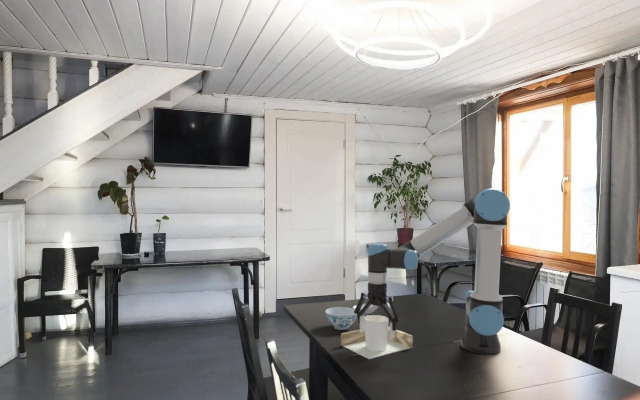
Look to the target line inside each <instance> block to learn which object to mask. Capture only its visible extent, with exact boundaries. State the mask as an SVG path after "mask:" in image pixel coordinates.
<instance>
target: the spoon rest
mask: <svg viewBox="0 0 640 400" xmlns="http://www.w3.org/2000/svg"><path fill="white" fill-rule="evenodd" d="M387 304H388V306H389V308H390V309H391V307H390V305H389V302H387ZM365 305H366V303H363V305H362V307H361V309H362V308H363V307H364V306H365ZM356 306H357V304H356V305H353V306H352V309H355V308H356ZM379 308H381V306H376V305H375V306H374V305H371V306H370V307H369V308H368V309H367V310H366V311H365V313H364V314H363V315H365V316H369V314H370V315H372V313H374V312H375V311H376V310H377V309H379ZM361 309H360V311H361ZM391 311H392V310H391Z"/></svg>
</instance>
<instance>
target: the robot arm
mask: <svg viewBox="0 0 640 400" xmlns="http://www.w3.org/2000/svg"><path fill="white" fill-rule="evenodd" d="M510 207H511V202H510V199H509V197H508V195H507V194H506V193H505V192H504V191H503V190H500V189H498V188H493V187H492V188H491V187H490V188H485V189H481V190H479V191H478V192H477V193H475V195H473V196H472V197H471V198H470V199H469V200H467V201H466V202H464V203H463V204H462V205H461V208H460V209H458V210H457V211H455V212H453V213H452V214H451V215H449V216H447V217H446V218H444V219H442V220H441V221H439V222H438V223H436V224H434V225H433V226H431V227H430V228H428V229H426V230H425V231H424V232H422V233H421V234H419V235H417V236H416V237H414V238H413V239H411V240H410V241H408V242H406V243H404V244H403V245H400V246H399V247H398V248H397V249H392V248H388V245H387V244H386V243H376V242H375V243H371V244H369V245H368V252H367V282H368V283H367V292H366V291H363V292H361V293H360V298H359V301H358V303H357V304H356V305H357V306H356V308H355V311H354V313H355V314H357V317H358V318H357V319H358V320H357V324H359V329H360V333H362V332H364V331H365V324H364V317H366V315H363V314H364V313H365V311H366V310H367V309H368V308H369V307H370V306H371V305H374V306H375V305H376V306H380V308H382V309H383V311H384V313H385V314H386V315H387V318H388V319H389V320H390V322H389V327H390V339H391V340H392V339H393V338H395V330H396V329H397V328H398V327H397V323H400V322H401V321H402V317H401V314H400V312H399V309H398V307H397V304H396V302H395V297H394V295H391V296H388V294H387V293H388V291H387V290H388V289H387V288H388V286H387V285H388V284H387V280H388V276H387V275H388V273H387V272H388V269H401V270H416V269H418V266H419V265H418V264H419V263H418V262H419V261H418V258H420V257H421V256H422V255H424V254H425V253H428V252H430V250H432V249H434V248H436V247H437V246H439V245H441V244H442V243H444V242H445V241H447V240H448V239H450V238H451V237H453V236H455V235H456V234H458V233H460V232H461V231H463V230H465V229H467V228H468V227H470V226H471V225H472V224H473V225H474V226H475V227H476V228H477V229H476V230H477V233H476V250H475V252H476V254H475V268H474V269H475V270H474V290H468V291H467V292H466V295H465V327H464V330H463V331H464V332H463V334H462V337H461V341H460V346H461V348H463V349H464V350H466V351H468V352H471V353H475V354H479V355H480V354H481V355H494V354H499V353H500V352H501V347H502V346H501V343H500V339H499V336H498V333H499V332H500V331H501V330H502V329H503V327H504V322H505V317H504V315H503V301H504V299H503V297H502V296H501V295H500V293H499V289H500V275H501V274H500V272H501V259H502V258H501V255H502V254H501V253H502V237H503V236H502V235H503V229H505V228H506V227H507V226H508V214H509V212H510V209H511V208H510ZM366 299H368V301H367V302H366V303H365V301H366ZM387 303H389V305H390V307H391V309H390V308H389V306H388V304H387ZM363 304H366V305H365V306H364V307H363V308H362V309H361V307H362V305H363ZM360 309H361V311H360ZM391 310H392V311H391ZM397 330H398V329H397Z"/></svg>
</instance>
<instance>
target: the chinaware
mask: <svg viewBox="0 0 640 400" xmlns="http://www.w3.org/2000/svg"><path fill="white" fill-rule="evenodd" d="M354 311H355V309H353V307H352V308H351V307H345V306H335V307H330V308H327V309H325V312H324V313H325V316H326V318H327V320H328V322H329V323H330V324H331V325H332V326H333V327H334V329H335V330H339V331H343V330H345V331H346V330H348V329H349V327H350V326H351V325H353V323H355V321H356V319H357V317H358V315H357V314H355V313H354Z"/></svg>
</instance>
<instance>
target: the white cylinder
mask: <svg viewBox="0 0 640 400" xmlns="http://www.w3.org/2000/svg"><path fill="white" fill-rule="evenodd" d="M389 320H390V318H389V317H388V316H384V315H380V314H377V315H376V314H370V315H365V317H364V324H365V344H366V349H368V350H370V351H374V352H381V351H384V350H386V348H387V335H388V326H389Z"/></svg>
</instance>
